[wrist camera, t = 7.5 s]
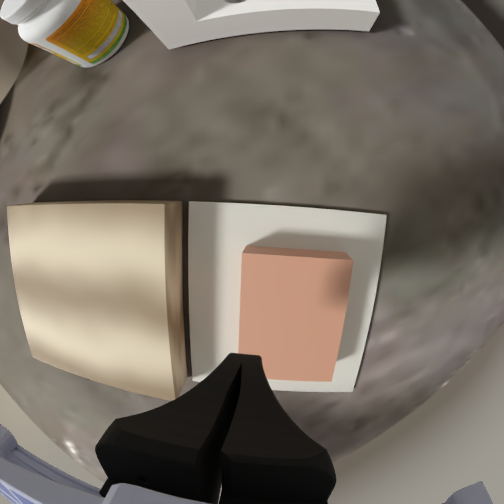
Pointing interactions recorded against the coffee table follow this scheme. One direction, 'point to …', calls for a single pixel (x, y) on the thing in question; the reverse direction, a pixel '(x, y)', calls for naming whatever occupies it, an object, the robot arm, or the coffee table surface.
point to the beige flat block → (103, 290)
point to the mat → (279, 236)
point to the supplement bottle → (70, 27)
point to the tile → (293, 310)
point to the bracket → (248, 17)
